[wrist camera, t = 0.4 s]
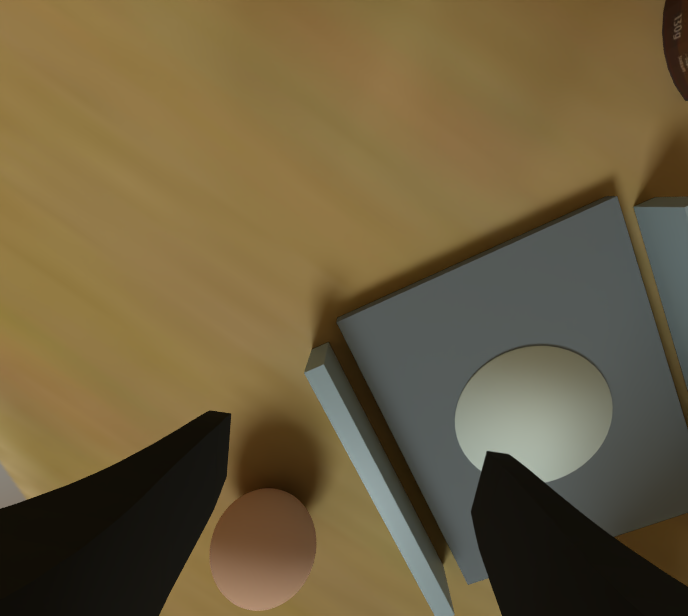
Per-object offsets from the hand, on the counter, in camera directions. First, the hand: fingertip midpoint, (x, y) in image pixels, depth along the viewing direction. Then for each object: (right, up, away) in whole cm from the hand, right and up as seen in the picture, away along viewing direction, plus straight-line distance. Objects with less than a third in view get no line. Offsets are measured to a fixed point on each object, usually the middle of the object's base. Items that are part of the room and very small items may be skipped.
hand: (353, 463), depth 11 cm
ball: (-4, -8, +10) cm, 14 cm away
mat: (+10, -1, +10) cm, 14 cm away
